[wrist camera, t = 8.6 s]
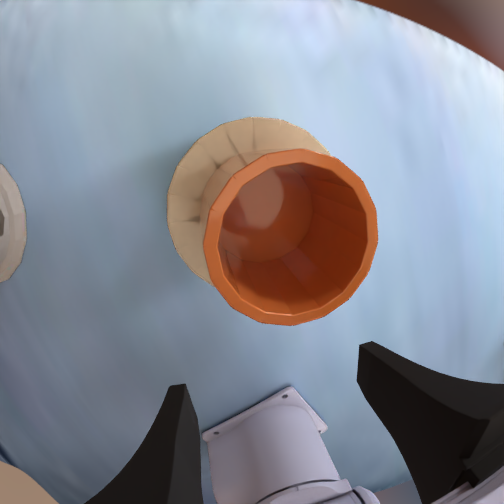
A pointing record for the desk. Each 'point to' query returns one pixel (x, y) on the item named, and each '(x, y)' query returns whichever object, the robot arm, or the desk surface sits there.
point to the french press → (10, 225)
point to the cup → (287, 234)
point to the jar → (207, 162)
